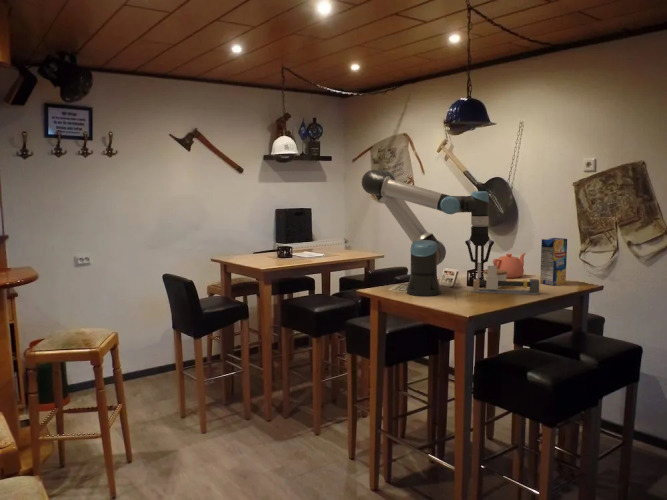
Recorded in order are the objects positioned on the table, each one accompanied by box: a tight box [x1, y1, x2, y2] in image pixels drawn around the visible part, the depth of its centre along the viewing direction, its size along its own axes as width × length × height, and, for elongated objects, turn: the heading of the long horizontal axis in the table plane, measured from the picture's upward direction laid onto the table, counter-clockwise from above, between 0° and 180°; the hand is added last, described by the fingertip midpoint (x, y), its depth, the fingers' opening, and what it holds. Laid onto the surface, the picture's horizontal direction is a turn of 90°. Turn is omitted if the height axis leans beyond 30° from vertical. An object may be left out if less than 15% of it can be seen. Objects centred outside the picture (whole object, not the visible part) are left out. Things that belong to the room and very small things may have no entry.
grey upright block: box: [485, 265, 499, 289], centre depth 240 cm, size 5×5×10 cm
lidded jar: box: [483, 268, 507, 289], centre depth 253 cm, size 11×11×9 cm
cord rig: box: [470, 278, 540, 296], centre depth 240 cm, size 29×7×6 cm, turn 76°
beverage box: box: [539, 237, 568, 287], centre depth 259 cm, size 7×11×22 cm, turn 125°
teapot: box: [492, 252, 526, 279], centre depth 281 cm, size 22×15×12 cm
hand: (479, 277), depth 242 cm, fingers closed
